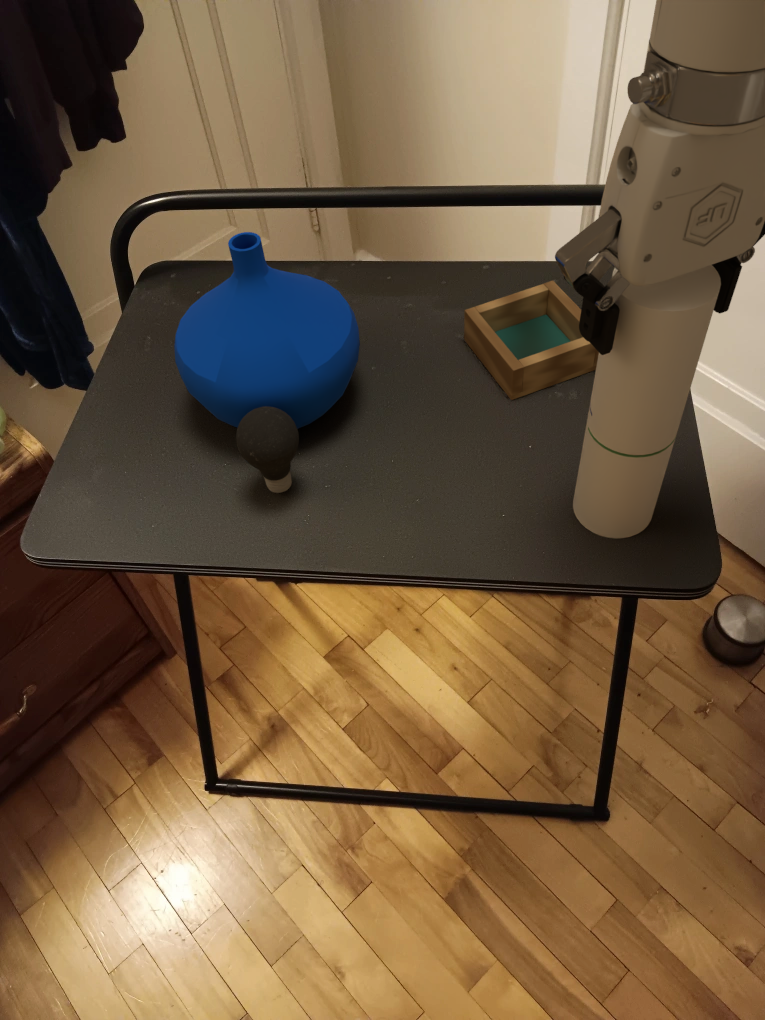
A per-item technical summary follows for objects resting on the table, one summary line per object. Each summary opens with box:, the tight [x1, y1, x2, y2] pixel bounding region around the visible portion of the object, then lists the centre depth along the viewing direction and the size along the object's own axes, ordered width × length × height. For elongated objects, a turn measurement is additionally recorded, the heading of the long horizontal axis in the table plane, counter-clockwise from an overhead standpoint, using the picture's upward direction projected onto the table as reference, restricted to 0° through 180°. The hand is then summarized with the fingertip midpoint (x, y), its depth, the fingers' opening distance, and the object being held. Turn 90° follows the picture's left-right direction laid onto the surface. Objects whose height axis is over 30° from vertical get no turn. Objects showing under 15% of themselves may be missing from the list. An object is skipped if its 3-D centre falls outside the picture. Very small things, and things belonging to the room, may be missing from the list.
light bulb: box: [235, 406, 300, 494], centre depth 76 cm, size 6×6×10 cm
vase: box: [173, 231, 361, 430], centre depth 81 cm, size 18×18×19 cm
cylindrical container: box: [572, 265, 721, 539], centre depth 66 cm, size 7×7×25 cm
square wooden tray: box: [463, 280, 599, 401], centre depth 88 cm, size 11×11×4 cm
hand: (653, 322), depth 59 cm, fingers open, 9 cm apart
